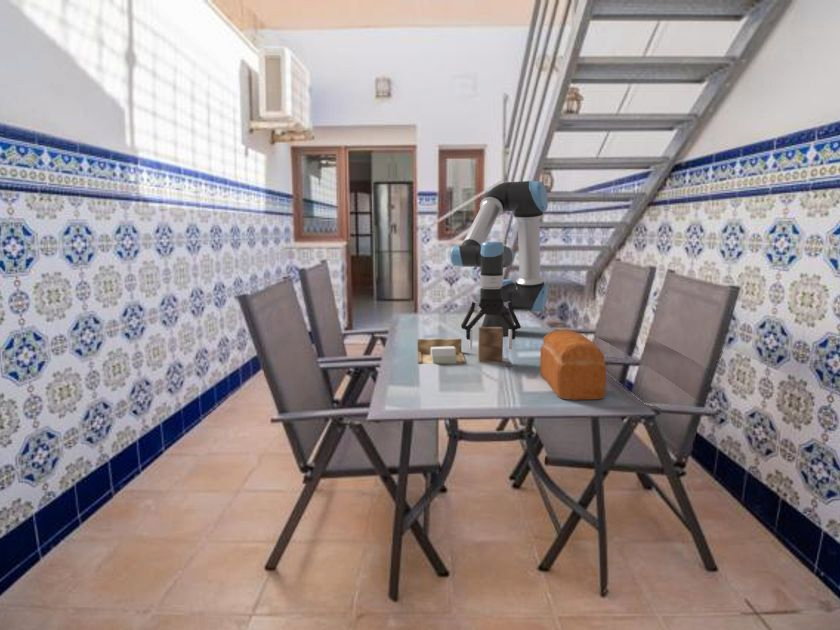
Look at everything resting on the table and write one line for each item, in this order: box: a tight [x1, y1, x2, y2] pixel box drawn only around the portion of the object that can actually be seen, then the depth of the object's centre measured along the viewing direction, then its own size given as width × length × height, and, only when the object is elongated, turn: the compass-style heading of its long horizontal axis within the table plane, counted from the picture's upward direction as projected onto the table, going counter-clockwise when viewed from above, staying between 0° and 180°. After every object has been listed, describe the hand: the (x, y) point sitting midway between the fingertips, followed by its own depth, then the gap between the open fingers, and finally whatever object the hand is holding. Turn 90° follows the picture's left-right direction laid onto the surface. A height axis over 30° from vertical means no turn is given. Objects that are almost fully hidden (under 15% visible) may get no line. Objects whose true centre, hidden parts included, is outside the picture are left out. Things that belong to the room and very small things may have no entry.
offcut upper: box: [431, 346, 455, 356], centre depth 183 cm, size 8×4×2 cm, turn 97°
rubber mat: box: [501, 357, 514, 367], centre depth 186 cm, size 14×10×1 cm
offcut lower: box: [433, 353, 457, 364], centre depth 183 cm, size 8×4×2 cm, turn 91°
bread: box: [539, 329, 607, 401], centre depth 158 cm, size 14×26×16 cm, turn 0°
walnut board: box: [477, 326, 504, 362], centre depth 185 cm, size 8×3×12 cm, turn 91°
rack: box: [417, 338, 466, 365], centre depth 189 cm, size 16×16×6 cm
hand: (490, 348), depth 185 cm, fingers open, 13 cm apart
